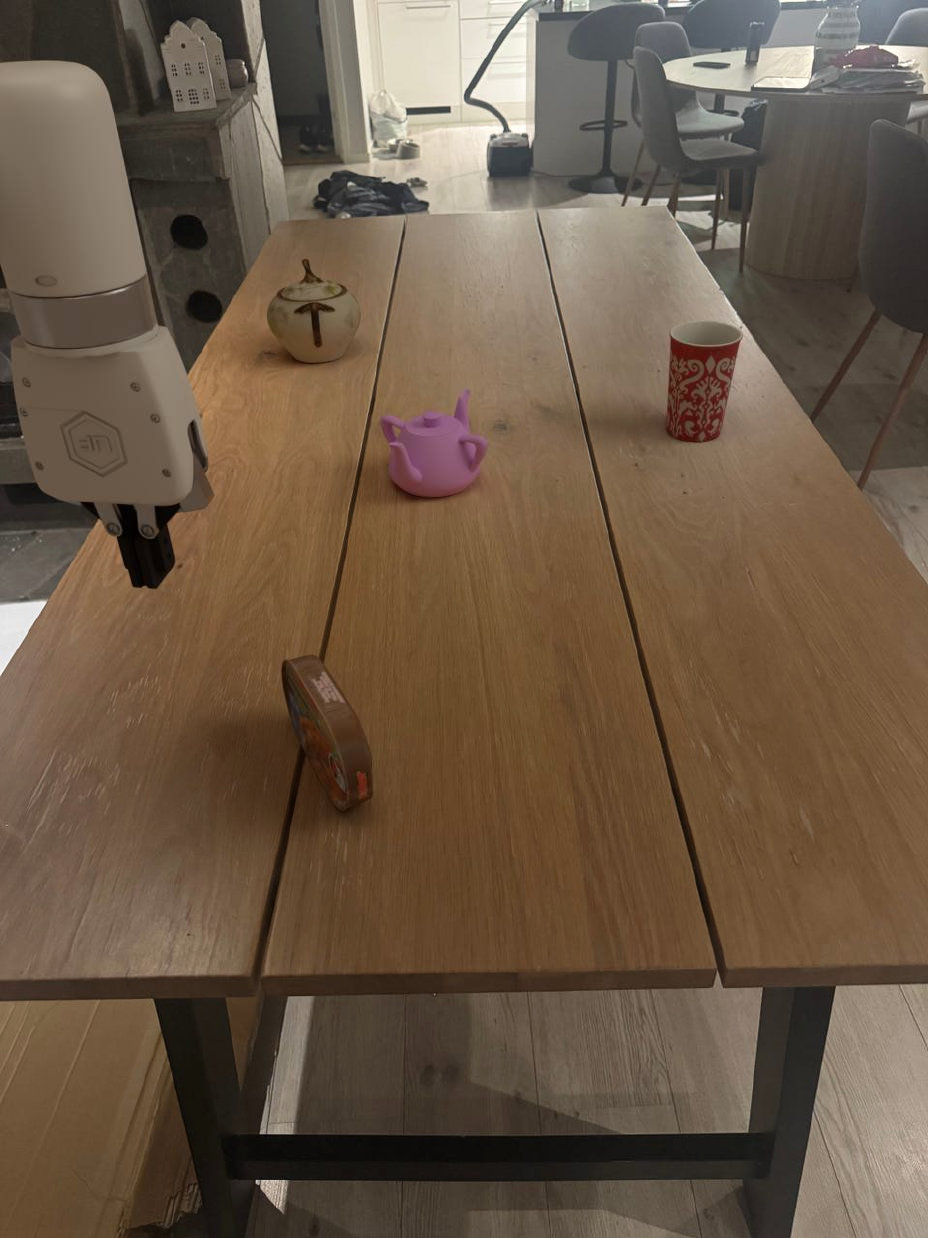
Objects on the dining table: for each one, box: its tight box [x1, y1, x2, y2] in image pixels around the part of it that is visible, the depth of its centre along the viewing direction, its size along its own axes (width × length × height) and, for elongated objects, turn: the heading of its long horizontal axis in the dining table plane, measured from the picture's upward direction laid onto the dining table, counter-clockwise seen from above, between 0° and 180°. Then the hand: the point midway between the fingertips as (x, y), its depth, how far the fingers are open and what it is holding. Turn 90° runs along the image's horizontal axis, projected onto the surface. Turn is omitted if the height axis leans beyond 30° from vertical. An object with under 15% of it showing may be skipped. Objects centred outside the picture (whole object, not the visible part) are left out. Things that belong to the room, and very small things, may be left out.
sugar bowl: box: [266, 258, 362, 364], centre depth 148 cm, size 20×15×15 cm
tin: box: [280, 654, 375, 812], centre depth 74 cm, size 15×3×8 cm, turn 27°
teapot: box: [380, 389, 489, 498], centre depth 114 cm, size 12×14×9 cm
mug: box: [665, 320, 744, 443], centre depth 122 cm, size 13×9×14 cm
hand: (153, 577), depth 64 cm, fingers closed
